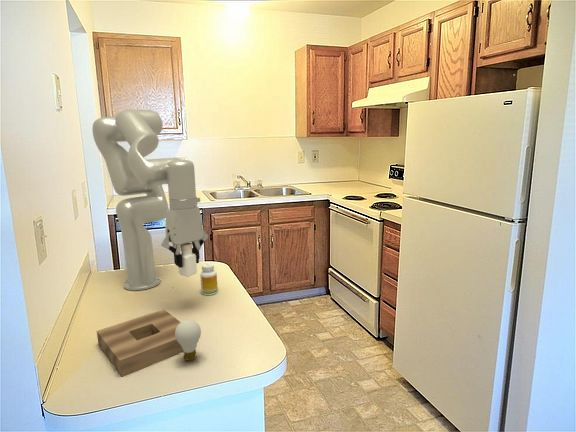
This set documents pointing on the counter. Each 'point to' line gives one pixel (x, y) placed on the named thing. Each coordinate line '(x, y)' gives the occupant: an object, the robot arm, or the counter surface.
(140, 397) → the counter surface
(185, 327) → the light bulb
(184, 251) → the pepper shaker
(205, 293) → the supplement bottle
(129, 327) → the socket block
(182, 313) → the counter surface
